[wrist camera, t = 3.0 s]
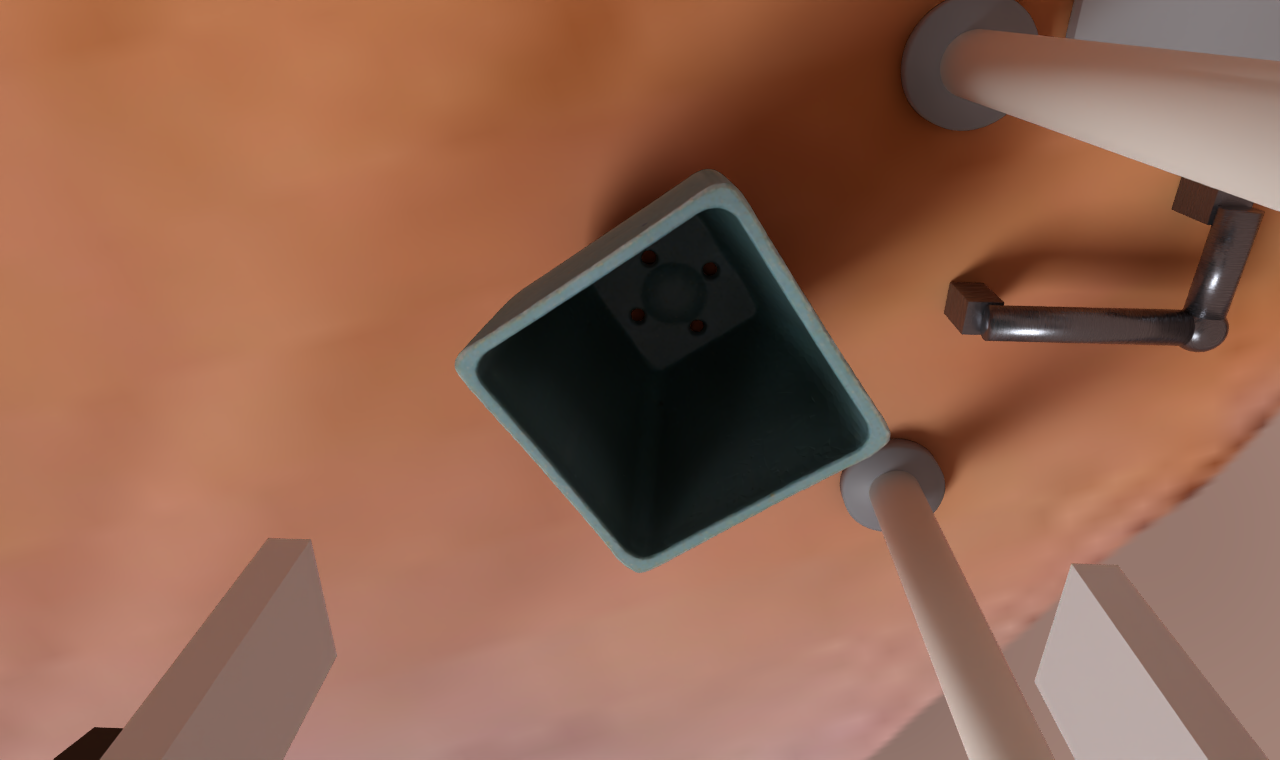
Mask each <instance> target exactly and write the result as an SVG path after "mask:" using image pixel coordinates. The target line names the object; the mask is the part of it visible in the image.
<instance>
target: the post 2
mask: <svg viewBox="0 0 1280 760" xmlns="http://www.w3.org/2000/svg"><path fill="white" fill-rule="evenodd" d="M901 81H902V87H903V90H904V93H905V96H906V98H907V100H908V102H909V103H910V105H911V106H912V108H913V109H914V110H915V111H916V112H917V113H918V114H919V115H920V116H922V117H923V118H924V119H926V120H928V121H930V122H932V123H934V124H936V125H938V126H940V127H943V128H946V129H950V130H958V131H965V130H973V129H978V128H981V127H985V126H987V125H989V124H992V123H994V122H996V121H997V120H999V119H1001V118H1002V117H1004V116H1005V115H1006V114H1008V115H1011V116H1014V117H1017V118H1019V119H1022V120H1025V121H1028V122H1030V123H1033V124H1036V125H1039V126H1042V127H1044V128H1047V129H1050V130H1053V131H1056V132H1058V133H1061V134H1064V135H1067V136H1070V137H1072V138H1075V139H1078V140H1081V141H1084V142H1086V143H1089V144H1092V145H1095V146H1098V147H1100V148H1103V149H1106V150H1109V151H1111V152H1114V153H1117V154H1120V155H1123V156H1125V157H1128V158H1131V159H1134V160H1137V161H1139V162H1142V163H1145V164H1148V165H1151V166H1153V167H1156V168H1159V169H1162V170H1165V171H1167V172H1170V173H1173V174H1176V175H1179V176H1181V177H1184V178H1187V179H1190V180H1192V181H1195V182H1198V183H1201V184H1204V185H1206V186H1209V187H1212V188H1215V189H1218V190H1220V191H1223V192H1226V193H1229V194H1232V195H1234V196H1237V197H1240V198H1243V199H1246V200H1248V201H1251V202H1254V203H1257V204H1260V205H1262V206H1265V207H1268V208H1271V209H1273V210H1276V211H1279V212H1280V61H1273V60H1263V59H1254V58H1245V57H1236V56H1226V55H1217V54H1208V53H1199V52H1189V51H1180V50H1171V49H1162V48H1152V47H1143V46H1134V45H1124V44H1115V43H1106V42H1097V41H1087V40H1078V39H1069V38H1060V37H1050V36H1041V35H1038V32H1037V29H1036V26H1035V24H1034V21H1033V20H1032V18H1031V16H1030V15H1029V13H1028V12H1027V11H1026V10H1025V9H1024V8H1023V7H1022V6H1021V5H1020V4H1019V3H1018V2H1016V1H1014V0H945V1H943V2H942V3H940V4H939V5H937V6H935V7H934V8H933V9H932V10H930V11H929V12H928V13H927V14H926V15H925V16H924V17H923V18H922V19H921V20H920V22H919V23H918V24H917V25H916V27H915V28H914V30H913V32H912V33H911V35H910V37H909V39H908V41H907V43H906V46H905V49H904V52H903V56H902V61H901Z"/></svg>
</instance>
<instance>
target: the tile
mask: <svg viewBox="0 0 1280 760" xmlns="http://www.w3.org/2000/svg"><path fill="white" fill-rule="evenodd" d="M1066 38H1069V39H1078V40H1087V41H1097V42H1106V43H1115V44H1124V45H1134V46H1143V47H1152V48H1162V49H1171V50H1180V51H1189V52H1199V53H1208V54H1217V55H1226V56H1236V57H1245V58H1254V59H1263V60H1273V61H1280V0H1074V3H1073V7H1072V12H1071V16H1070V20H1069V25H1068V29H1067V33H1066Z"/></svg>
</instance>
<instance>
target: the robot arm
mask: <svg viewBox="0 0 1280 760" xmlns="http://www.w3.org/2000/svg"><path fill="white" fill-rule="evenodd" d="M336 657H337V654H336V649H335V645H334V640H333V636H332V631H331V627H330V622H329V618H328V613H327V609H326V605H325V600H324V596H323V591H322V587H321V582H320V578H319V573H318V569H317V565H316V560H315V556H314V551H313V547H312V542H311V539H281V538H268V539H267V540H266V542H265V543H264V544H263V546H262V547H261V548H260V549H259V551H258V552H257V553H256V555H255V556H254V557H253V559H252V560H251V561H250V563H249V564H248V565H247V567H246V568H245V569H244V571H243V572H242V573H241V574H240V576H239V577H238V578H237V580H236V581H235V582H234V584H233V585H232V586H231V588H230V589H229V590H228V592H227V593H226V594H225V596H224V597H223V598H222V599H221V601H220V602H219V603H218V605H217V606H216V607H215V609H214V610H213V611H212V613H211V614H210V615H209V617H208V618H207V619H206V621H205V622H204V623H203V624H202V626H201V627H200V628H199V630H198V631H197V632H196V634H195V635H194V636H193V638H192V639H191V640H190V642H189V643H188V644H187V646H186V647H185V648H184V649H183V651H182V652H181V653H180V655H179V656H178V657H177V659H176V660H175V661H174V663H173V664H172V665H171V667H170V668H169V669H168V671H167V672H166V673H165V674H164V676H163V677H162V678H161V680H160V681H159V682H158V684H157V685H156V686H155V688H154V689H153V690H152V692H151V693H150V694H149V696H148V697H147V698H146V699H145V701H144V702H143V703H142V705H141V706H140V707H139V709H138V710H137V711H136V713H135V714H134V715H133V717H132V718H131V719H130V721H129V722H128V723H127V724H126V726H125V727H124V728H100V727H94V728H93V729H92V730H90V731H89V732H88V733H86V734H85V735H84V736H83V737H81V738H80V739H79V740H77V741H76V742H75V743H74V744H72V745H71V746H70V747H68V748H67V749H66V750H65V751H63V752H62V753H61V754H59V755H58V756H57V757H56V758H54V759H53V760H283V759H284V757H285V755H286V753H287V751H288V749H289V747H290V745H291V743H292V741H293V739H294V738H295V736H296V734H297V732H298V730H299V728H300V726H301V724H302V722H303V720H304V718H305V716H306V714H307V713H308V711H309V709H310V707H311V705H312V703H313V701H314V699H315V697H316V695H317V693H318V691H319V689H320V687H321V686H322V684H323V682H324V680H325V678H326V676H327V674H328V672H329V670H330V668H331V666H332V664H333V662H334V661H335V659H336ZM1035 683H1036V686H1037V687H1038V689H1039V691H1040V693H1041V695H1042V697H1043V699H1044V701H1045V703H1046V705H1047V706H1048V708H1049V710H1050V712H1051V714H1052V716H1053V718H1054V719H1055V722H1056V724H1057V726H1058V728H1059V730H1060V732H1061V733H1062V735H1063V737H1064V739H1065V741H1066V743H1067V745H1068V746H1069V749H1070V751H1071V753H1072V755H1073V756H1074V758H1075V760H1269V759H1268V758H1267V757H1266V755H1265V754H1264V753H1263V751H1262V750H1261V749H1260V748H1259V746H1258V745H1257V744H1256V742H1255V741H1254V740H1253V739H1252V737H1251V736H1250V735H1249V733H1248V732H1247V731H1246V730H1245V728H1244V727H1243V726H1242V724H1241V723H1240V722H1239V721H1238V719H1237V718H1236V717H1235V715H1234V714H1233V713H1232V712H1231V710H1230V709H1229V708H1228V706H1227V705H1226V704H1225V703H1224V701H1223V700H1222V699H1221V698H1220V696H1219V695H1218V694H1217V692H1216V691H1215V690H1214V688H1213V687H1212V686H1211V684H1210V683H1209V682H1208V681H1207V679H1206V678H1205V677H1204V675H1203V674H1202V673H1201V672H1200V670H1199V669H1198V668H1197V667H1196V665H1195V664H1194V663H1193V661H1192V660H1191V659H1190V658H1189V656H1188V655H1187V654H1186V652H1185V651H1184V650H1183V648H1182V647H1181V646H1180V645H1179V643H1178V642H1177V641H1176V639H1175V638H1174V637H1173V636H1172V635H1171V633H1170V632H1169V631H1168V629H1167V628H1166V627H1165V625H1164V624H1163V623H1162V622H1161V620H1160V619H1159V618H1158V616H1157V615H1156V614H1155V613H1154V611H1153V610H1152V609H1151V607H1150V606H1149V605H1148V604H1147V602H1146V601H1145V600H1144V598H1143V597H1142V596H1141V594H1140V593H1139V592H1138V591H1137V589H1136V588H1135V587H1134V585H1133V584H1132V583H1131V582H1130V580H1129V579H1128V578H1127V576H1126V575H1125V574H1124V573H1123V571H1122V570H1121V569H1120V567H1119V566H1118V565H1101V564H1071V567H1070V570H1069V573H1068V576H1067V580H1066V583H1065V586H1064V589H1063V592H1062V595H1061V599H1060V602H1059V605H1058V608H1057V611H1056V615H1055V618H1054V621H1053V624H1052V628H1051V631H1050V634H1049V637H1048V640H1047V643H1046V647H1045V650H1044V653H1043V656H1042V659H1041V662H1040V666H1039V669H1038V672H1037V675H1036V678H1035Z"/></svg>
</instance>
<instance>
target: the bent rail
mask: <svg viewBox="0 0 1280 760" xmlns="http://www.w3.org/2000/svg"><path fill="white" fill-rule="evenodd" d="M1253 203H1254V202H1251V201H1248V200H1246V199H1243V198H1240V197H1237V196H1234V195H1232V194H1229V193H1226V192H1223V191H1220V190H1218V189H1215V188H1212V187H1209V186H1206V185H1204V184H1201V183H1198V182H1195V181H1192V180H1190V179H1187V178H1184V177H1182V178H1181V181H1180V184H1179V187H1178V190H1177V194H1176V197H1175V200H1174V203H1173V206H1172V210H1174V211H1176V212H1179V213H1181V214H1183V215H1186V216H1188V217H1190V218H1193V219H1195V220H1197V221H1200V222H1202V223H1204V224H1207V225H1212V226H1211V228H1210V231H1209V234H1208V237H1207V240H1206V243H1205V246H1204V249H1203V252H1202V255H1201V258H1200V261H1199V264H1198V267H1197V270H1196V273H1195V276H1194V279H1193V281H1192V284H1191V287H1190V290H1189V293H1188V296H1187V299H1186V302H1185V305H1184V308H1183V309H1182V310H1171V309H1128V308H1086V307H1044V306H1004V302H1003V301H1002V300H1001V299H1000V298H999V297H998V296H997V295H996V294H995V293H994V292H993V291H992V290H990V289H989V288H988V287H987V286H986V285H985V284H984V283H959V282H950V285H949V290H948V295H947V301H946V306H945V311H944V314H945V315H946V316H947V317H948V319H949V320H950V321H951V322H952V323H953V324H954V326H955V327H956V328H957V329H958V330H959V332H960V333H961V334H970V335H981V336H982V338H983V339H984V340H985V341H1017V342H1056V343H1096V344H1135V345H1175V346H1180V347H1181V348H1183V349H1185V350H1188V351H1192V352H1205V351H1209V350H1212V349H1214V348H1216V347H1217V346H1219V345H1220V344H1221V343H1222V342H1223V341H1224V340H1225V338H1226V337H1227V335H1228V331H1229V324H1228V320H1227V318H1226V316H1227V313H1228V311H1229V308H1230V305H1231V302H1232V300H1233V297H1234V294H1235V292H1236V289H1237V286H1238V283H1239V281H1240V278H1241V275H1242V272H1243V270H1244V267H1245V264H1246V262H1247V259H1248V256H1249V253H1250V251H1251V248H1252V245H1253V243H1254V240H1255V237H1256V234H1257V232H1258V229H1259V226H1260V224H1261V221H1262V218H1263V215H1264V211H1262V210H1259V209H1256V208H1252V206H1253Z"/></svg>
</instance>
